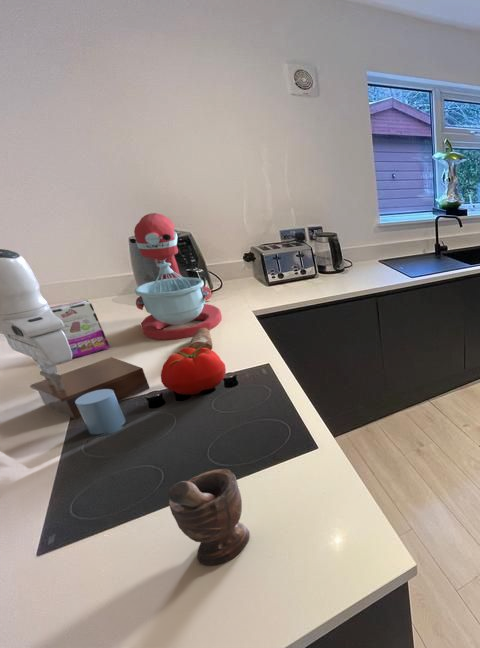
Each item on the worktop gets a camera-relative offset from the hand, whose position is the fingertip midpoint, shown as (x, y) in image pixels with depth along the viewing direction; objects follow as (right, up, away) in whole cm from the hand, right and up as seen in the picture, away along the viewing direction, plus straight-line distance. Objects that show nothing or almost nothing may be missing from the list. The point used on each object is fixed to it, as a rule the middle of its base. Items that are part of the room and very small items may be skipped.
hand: (50, 372), depth 96 cm
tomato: (+24, -7, +16) cm, 29 cm away
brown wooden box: (+2, -8, +10) cm, 13 cm away
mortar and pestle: (+64, -27, -29) cm, 75 cm away
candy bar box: (-27, +2, +33) cm, 42 cm away
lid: (+2, -3, +7) cm, 8 cm away
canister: (+15, -13, -1) cm, 20 cm away
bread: (+7, +3, +39) cm, 39 cm away
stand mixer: (-13, +11, +55) cm, 58 cm away
